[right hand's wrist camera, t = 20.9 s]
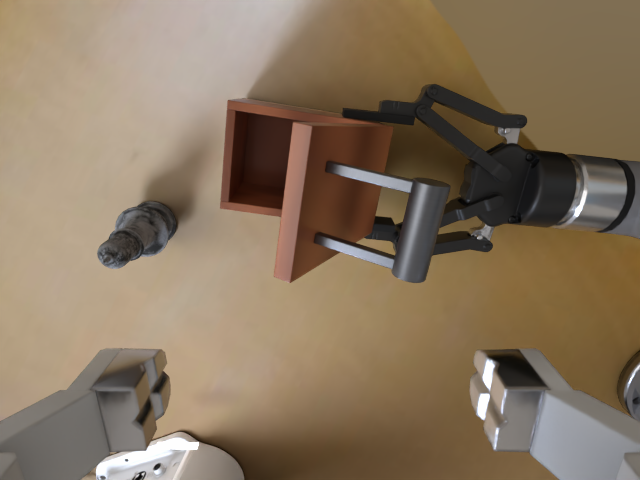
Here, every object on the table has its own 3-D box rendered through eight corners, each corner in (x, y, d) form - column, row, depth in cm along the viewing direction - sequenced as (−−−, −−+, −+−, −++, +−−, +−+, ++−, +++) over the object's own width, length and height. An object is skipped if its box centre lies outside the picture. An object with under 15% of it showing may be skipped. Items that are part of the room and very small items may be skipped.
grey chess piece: (136, 190, 47) (78, 222, 36) (185, 210, 48) (143, 247, 36) (123, 234, 49) (64, 277, 37) (170, 252, 50) (126, 300, 38)
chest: (236, 186, 46) (219, 208, 38) (243, 98, 43) (227, 99, 34) (354, 202, 48) (364, 228, 39) (370, 118, 44) (385, 124, 35)
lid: (273, 276, 26) (404, 328, 22) (292, 121, 23) (450, 153, 19) (359, 228, 38) (452, 257, 35) (379, 124, 35) (485, 143, 31)
